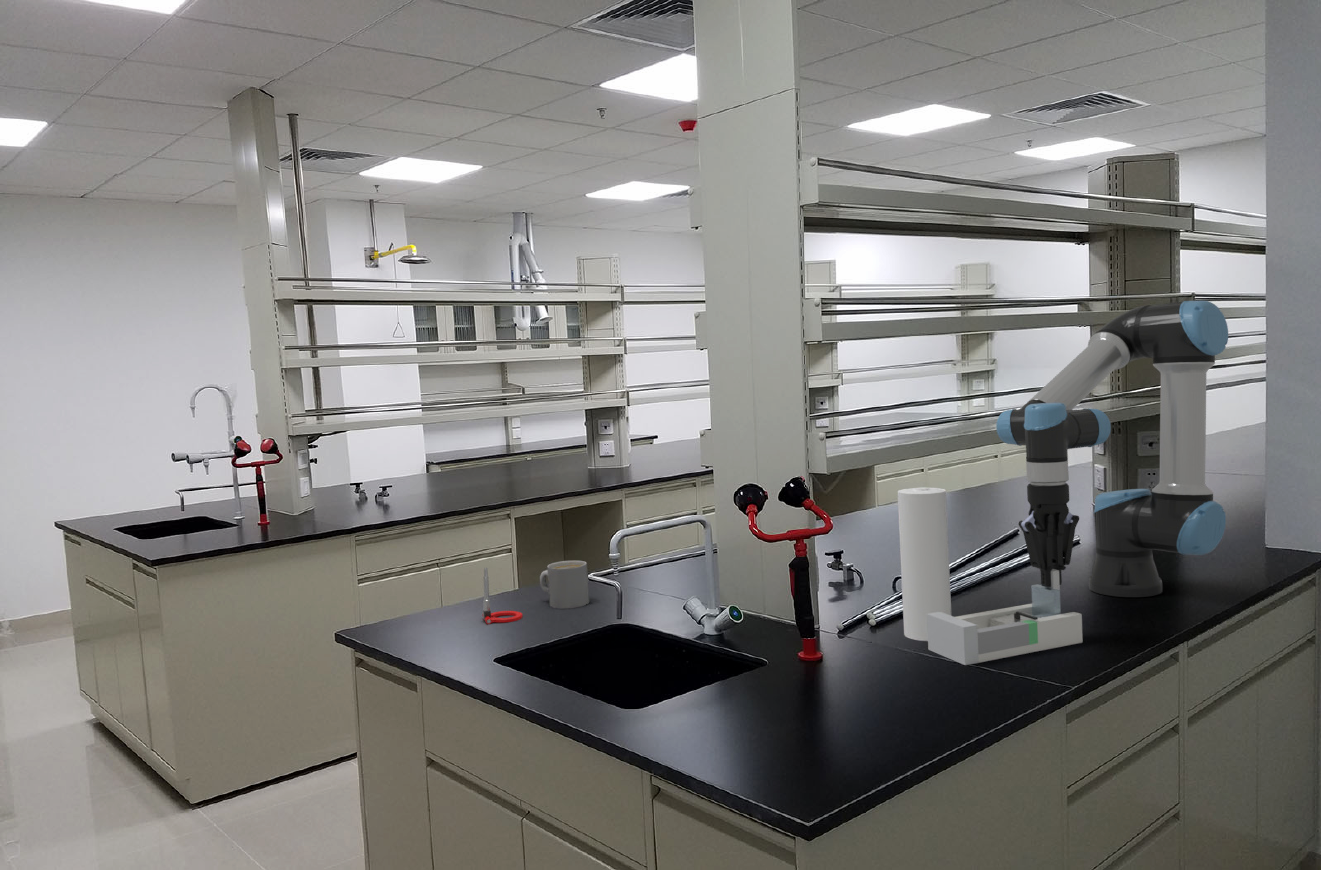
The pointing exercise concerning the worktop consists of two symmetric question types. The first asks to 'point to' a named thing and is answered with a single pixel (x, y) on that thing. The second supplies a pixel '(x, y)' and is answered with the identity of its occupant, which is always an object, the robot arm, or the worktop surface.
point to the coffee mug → (566, 584)
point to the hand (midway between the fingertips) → (1052, 602)
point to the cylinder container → (923, 557)
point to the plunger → (1034, 607)
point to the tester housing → (999, 634)
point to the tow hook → (490, 616)
